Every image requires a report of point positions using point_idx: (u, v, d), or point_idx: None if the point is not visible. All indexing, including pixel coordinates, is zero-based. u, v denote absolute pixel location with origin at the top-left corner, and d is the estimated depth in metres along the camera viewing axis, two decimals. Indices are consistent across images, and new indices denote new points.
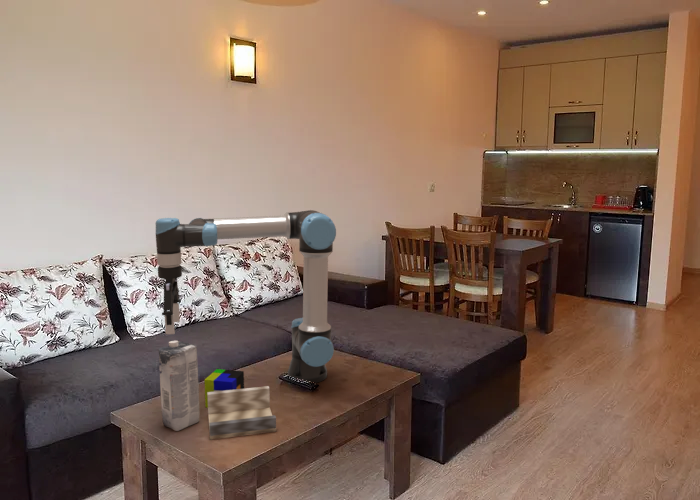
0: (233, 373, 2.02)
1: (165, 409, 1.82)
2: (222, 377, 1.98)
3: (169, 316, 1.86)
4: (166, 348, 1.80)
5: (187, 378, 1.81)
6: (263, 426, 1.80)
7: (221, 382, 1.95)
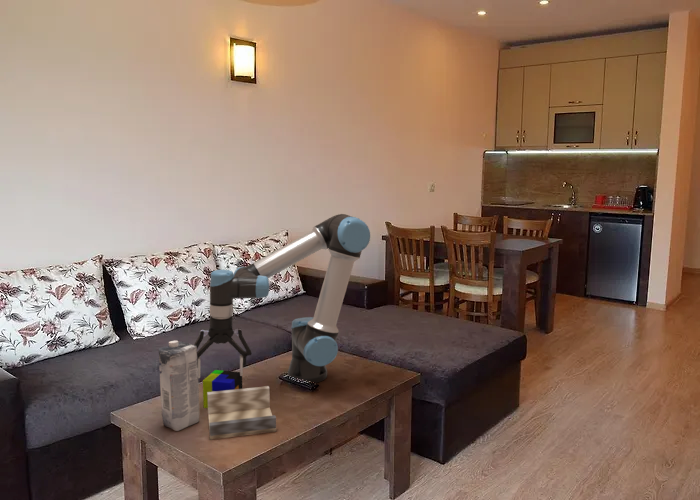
0: (231, 374, 2.02)
1: (165, 409, 1.82)
2: (220, 378, 1.98)
3: None
4: (166, 348, 1.80)
5: (187, 378, 1.81)
6: (263, 426, 1.80)
7: (219, 383, 1.95)
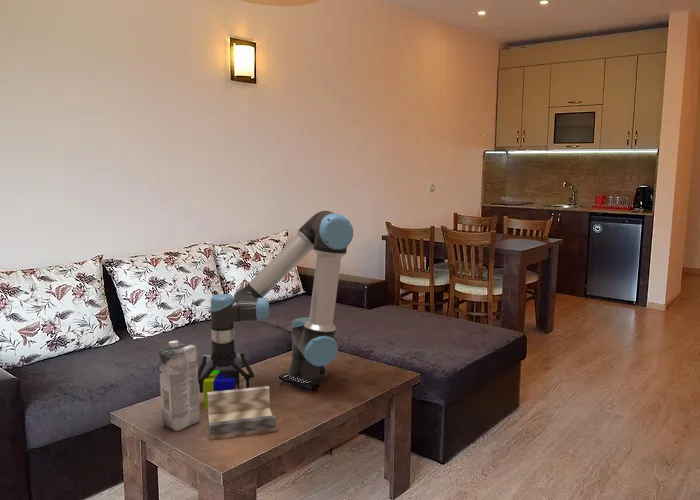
0: (229, 372, 2.02)
1: (165, 409, 1.82)
2: (220, 378, 1.98)
3: None
4: (166, 348, 1.80)
5: (187, 378, 1.81)
6: (263, 426, 1.80)
7: (221, 382, 1.95)
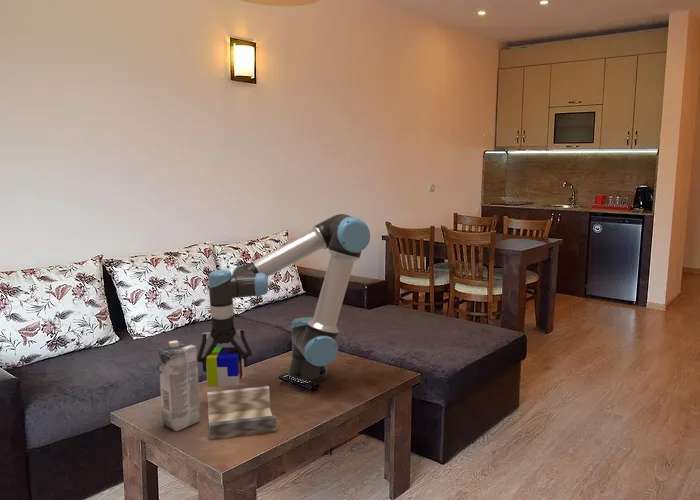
0: (232, 349, 2.01)
1: (165, 409, 1.82)
2: (223, 354, 1.97)
3: None
4: (166, 348, 1.80)
5: (187, 378, 1.81)
6: (263, 426, 1.80)
7: (225, 358, 1.94)
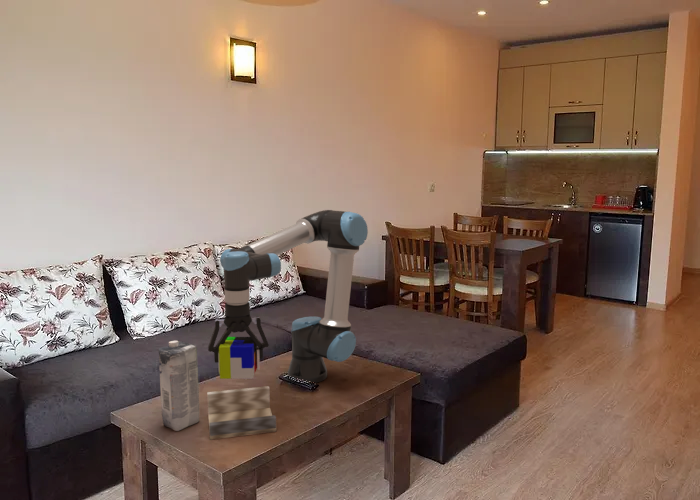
0: (246, 339, 1.84)
1: (165, 409, 1.82)
2: (237, 344, 1.79)
3: None
4: (166, 348, 1.80)
5: (187, 378, 1.81)
6: (263, 426, 1.80)
7: (239, 348, 1.76)
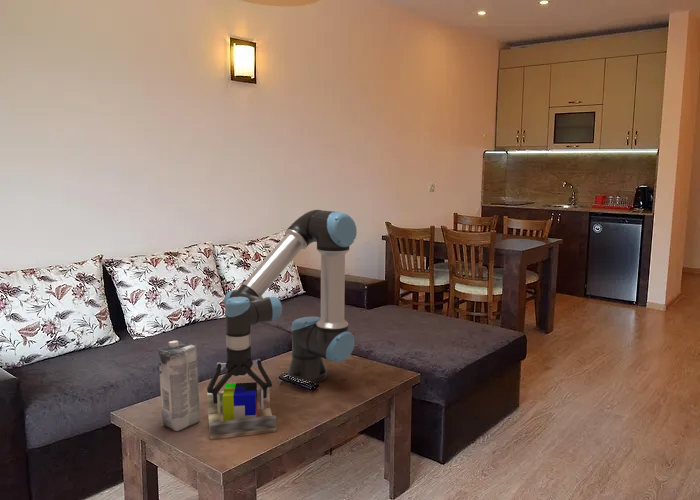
0: (247, 385, 1.88)
1: (165, 409, 1.82)
2: (240, 391, 1.84)
3: None
4: (166, 348, 1.80)
5: (187, 378, 1.81)
6: (263, 426, 1.80)
7: (242, 396, 1.81)
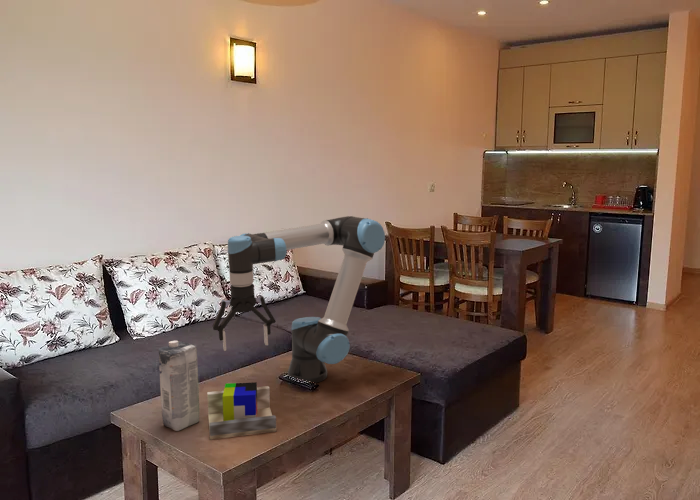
0: (247, 385, 1.88)
1: (165, 409, 1.82)
2: (240, 391, 1.84)
3: None
4: (166, 348, 1.80)
5: (187, 378, 1.81)
6: (263, 426, 1.80)
7: (242, 396, 1.81)
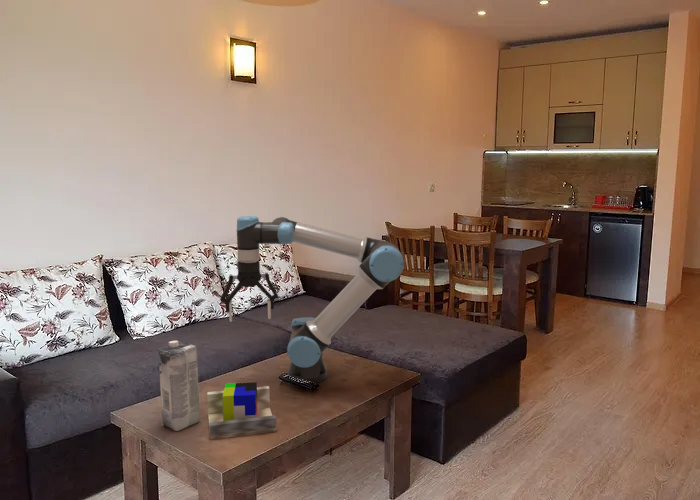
0: (247, 385, 1.88)
1: (165, 409, 1.82)
2: (240, 391, 1.84)
3: None
4: (166, 348, 1.80)
5: (187, 378, 1.81)
6: (263, 426, 1.80)
7: (242, 396, 1.81)
